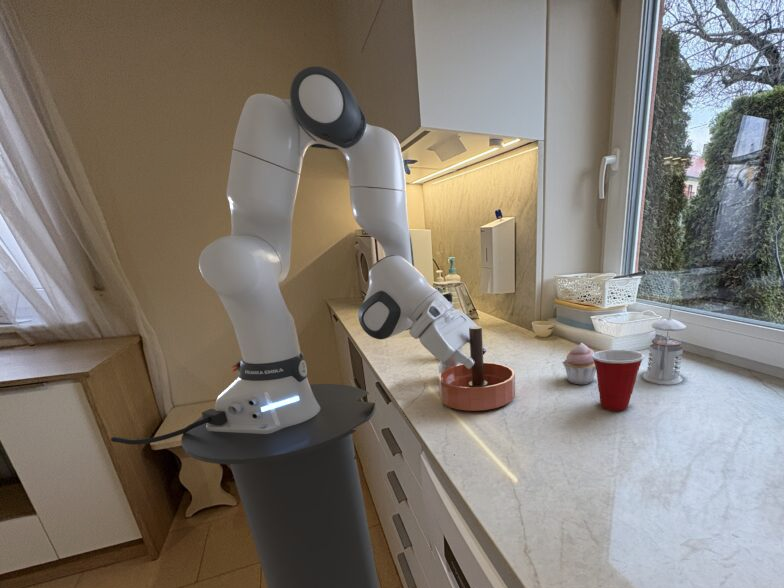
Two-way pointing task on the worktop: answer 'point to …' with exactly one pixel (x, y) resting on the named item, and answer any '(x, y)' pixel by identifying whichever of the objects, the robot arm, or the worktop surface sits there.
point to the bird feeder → (665, 352)
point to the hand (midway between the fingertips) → (478, 359)
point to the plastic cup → (616, 376)
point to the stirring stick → (477, 357)
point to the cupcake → (580, 365)
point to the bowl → (477, 398)
